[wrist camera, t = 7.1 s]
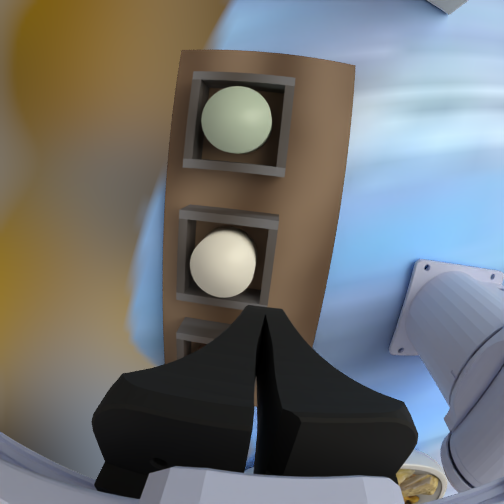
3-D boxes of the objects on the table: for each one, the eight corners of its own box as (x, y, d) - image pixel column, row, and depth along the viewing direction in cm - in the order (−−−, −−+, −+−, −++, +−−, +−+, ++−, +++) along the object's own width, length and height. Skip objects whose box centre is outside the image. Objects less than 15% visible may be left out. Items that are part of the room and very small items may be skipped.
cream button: (260, 229, 19) (257, 240, 17) (254, 284, 20) (250, 301, 18) (202, 222, 19) (191, 232, 17) (199, 277, 20) (188, 292, 18)
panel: (351, 70, 17) (364, 55, 14) (295, 400, 25) (296, 428, 21) (186, 55, 18) (170, 38, 14) (170, 382, 25) (158, 407, 22)
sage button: (275, 98, 17) (274, 89, 14) (268, 157, 18) (267, 156, 15) (215, 94, 17) (205, 84, 14) (208, 151, 18) (198, 150, 15)
